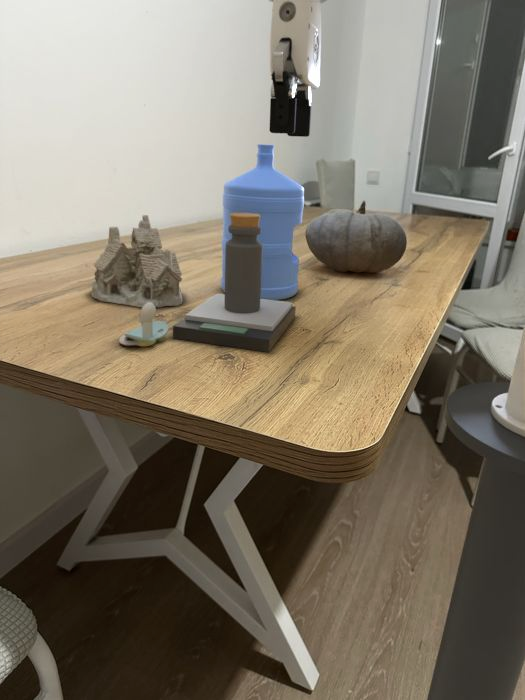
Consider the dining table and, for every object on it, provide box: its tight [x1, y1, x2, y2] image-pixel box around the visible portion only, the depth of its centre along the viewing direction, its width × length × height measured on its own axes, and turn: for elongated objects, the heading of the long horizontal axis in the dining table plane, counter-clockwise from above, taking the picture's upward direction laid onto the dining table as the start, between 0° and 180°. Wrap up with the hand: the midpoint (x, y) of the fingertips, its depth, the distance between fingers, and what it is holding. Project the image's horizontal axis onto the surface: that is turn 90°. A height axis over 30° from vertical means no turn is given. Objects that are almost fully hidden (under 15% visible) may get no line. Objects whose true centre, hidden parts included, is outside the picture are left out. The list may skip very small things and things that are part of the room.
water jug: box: [220, 143, 305, 301], centre depth 101 cm, size 16×16×28 cm
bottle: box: [224, 213, 263, 313], centre depth 82 cm, size 6×6×15 cm
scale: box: [172, 293, 297, 353], centre depth 84 cm, size 15×18×3 cm
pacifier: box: [118, 302, 169, 347], centre depth 75 cm, size 7×6×6 cm
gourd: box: [304, 200, 408, 274], centre depth 128 cm, size 25×25×17 cm
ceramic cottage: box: [90, 214, 184, 309], centre depth 95 cm, size 16×16×15 cm
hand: (290, 134), depth 70 cm, fingers open, 9 cm apart
